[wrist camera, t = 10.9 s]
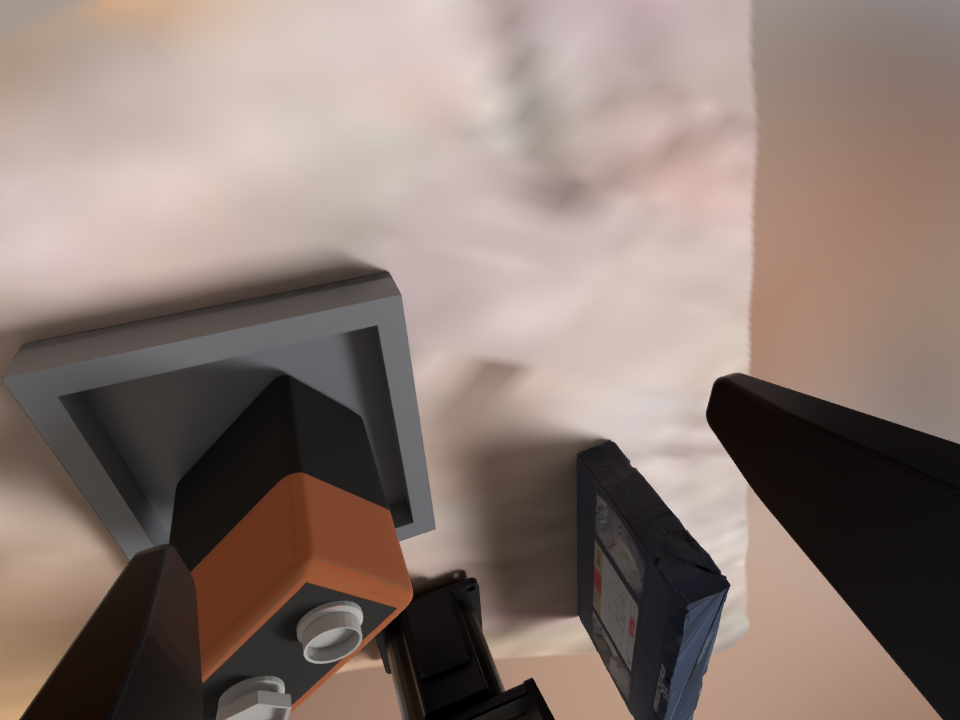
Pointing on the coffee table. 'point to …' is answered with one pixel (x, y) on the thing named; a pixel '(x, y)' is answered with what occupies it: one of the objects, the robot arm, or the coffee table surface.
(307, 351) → the tray
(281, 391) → the battery
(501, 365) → the coffee table surface
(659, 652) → the vhs cassette tape
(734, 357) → the coffee table surface
